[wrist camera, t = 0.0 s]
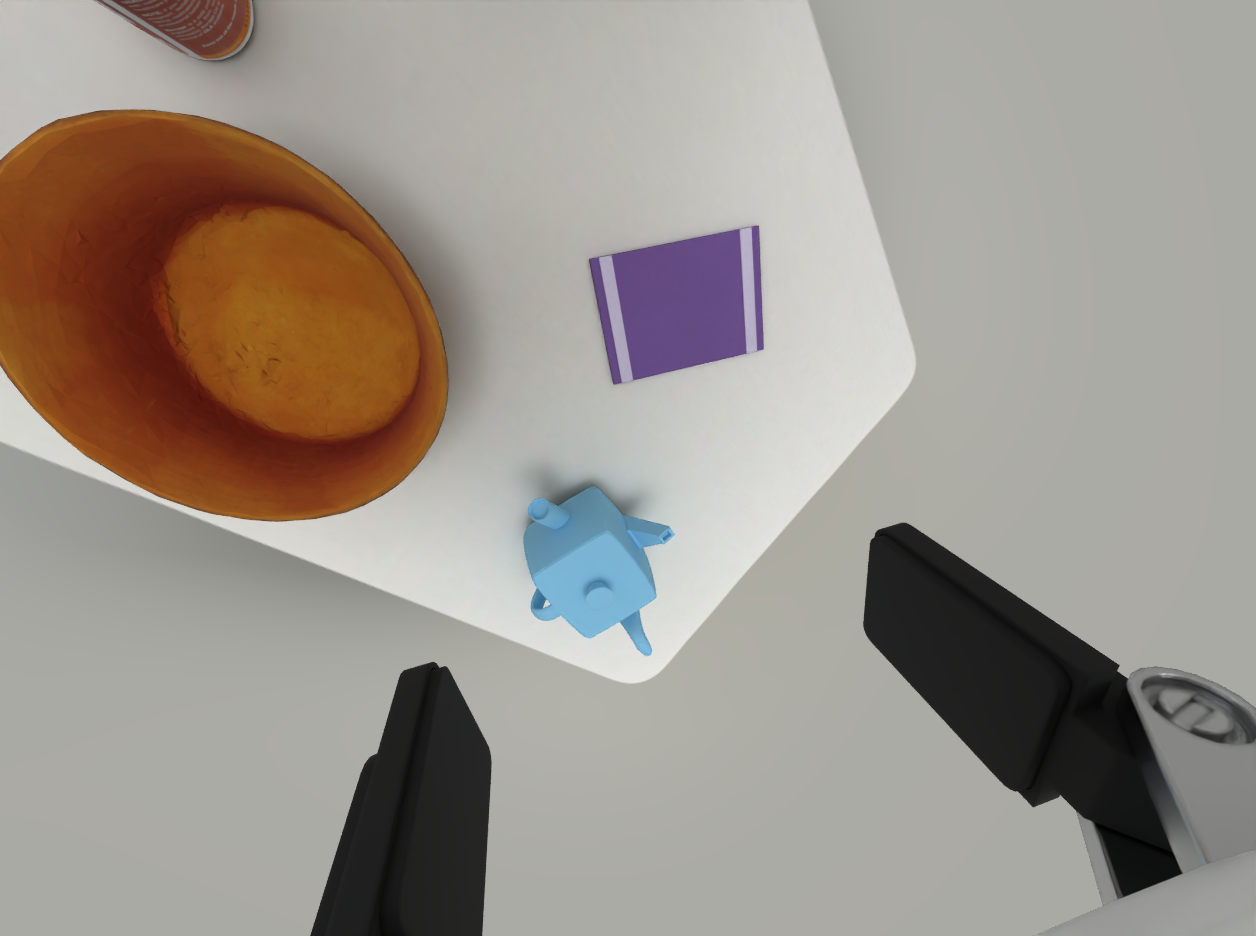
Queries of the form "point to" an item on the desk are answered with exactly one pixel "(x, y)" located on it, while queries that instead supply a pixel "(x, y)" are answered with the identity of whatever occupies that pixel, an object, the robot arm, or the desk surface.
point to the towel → (680, 303)
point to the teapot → (591, 564)
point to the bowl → (213, 317)
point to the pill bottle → (191, 24)
